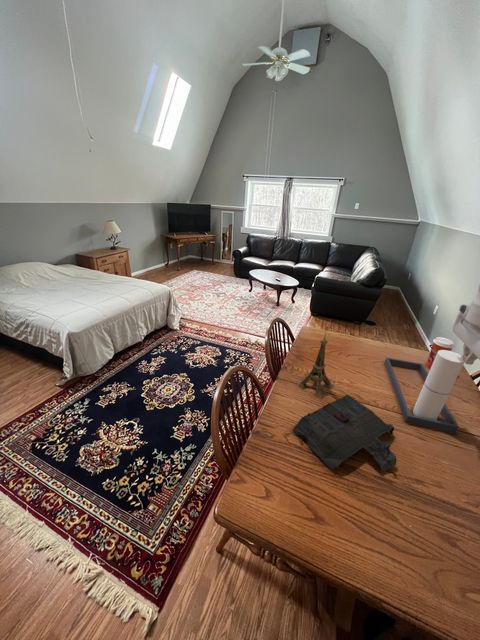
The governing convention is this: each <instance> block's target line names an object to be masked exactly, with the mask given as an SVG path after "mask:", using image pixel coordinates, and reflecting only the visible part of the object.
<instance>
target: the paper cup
mask: <svg viewBox="0 0 480 640" xmlns="http://www.w3.org/2000/svg"><path fill="white" fill-rule="evenodd" d="M454 348H455V343H454V341H452V340H451V339H449V338H446V337H441V336H438V337H437V336H436V337H435V338H434V339H433V340H432V346H431V349H430V352H429V354H428V358H427V361H426V368H428V369H429V370H430V369H431V366H432V364H433V362H434V359H435V357H436V355H437V352H438V351H439V350H448V351H452V350H453V349H454Z"/></svg>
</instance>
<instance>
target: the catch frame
mask: <svg viewBox="0 0 480 640" xmlns="http://www.w3.org/2000/svg"><path fill="white" fill-rule="evenodd" d="M384 366H385V368H386V372H387V374H388V377H389V379H390V383H391V385H392V388H393V389H392V390H393V391H394V395H395V398H396V400H397V404H398V406H399V409H400V411H401V414H402V417H403V419H404V423H406V424H410V425H414V426H418V427H423V428H427V429H432V430H437V431H441V432H445V433H450V434H454V435H456V434H457V432H458V430H459V428H460V426H459V425H458V423H457V421H456V419H455V418H454V416H453V414H452V413H451V410H450V409H449V407H448V405H447V404H446V403H445V404H444V406H443V408H442V410H441V412H440V414H441V415H442V417H443V419H444V420H445V421H441V420H438V419H437V420H432V419H428V418H423V417H418V416H415V415H414V414H411V413H410V410H409V408H408V404H407V402H406V399H405V397H404V395H403V392H402V389H401V386H400V384H399V382H398V379H397V376H396V373H395V371H394V369H393V366H394V367H400V368H405V369H410V370H416V371H418V372H419V373H420V375H421V377H422V379H423V382H425V381H426V378H427V376H428V374H429V372H428V371H427V369H426V367H425V366H424V364H423V363H419V362H415V361H409V360H403V359H398V358H391V357H385V359H384Z"/></svg>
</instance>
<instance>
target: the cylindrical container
mask: <svg viewBox="0 0 480 640" xmlns="http://www.w3.org/2000/svg"><path fill="white" fill-rule="evenodd" d="M461 357H462V355H461V354H459V353H457V352H455V351H452V350H451V351H448V350H439V351H438V352H437V355H436V357H435V359H434V362H433V364H432V366H431V369H430V368H429V371H428V376H427V378H426V381H424V383H423V386H422V388H421V390H420V392H419V395H418V397H417V399H416V402H415V405H414V407H413V409H412V415H414V416H418V417H423V418H428V419H432V420H437V421H438V418H439V417H440V414H441V410H442V408H443V406H444V404H446V402H447V399H448V397H449V395H450V394H451V391H452V389H453V387H454V385H455V383H456V381H457V379H458V376H459V375H460V373H461V371H462V368H463V366H464V364H465V362H464V361H463V359H462V358H461Z"/></svg>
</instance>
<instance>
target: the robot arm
mask: <svg viewBox="0 0 480 640" xmlns="http://www.w3.org/2000/svg"><path fill="white" fill-rule="evenodd" d="M452 333H454V335H455V336H456V337H457V338H458V339H459V340H460V341H461V342H462V343H463V345H462V355H461V356H462V357H461V358H462V359H463V361H464V364H466V365H470V366H472V365H474V363H475V361H476V360H479V361H480V284H479V285H478V291H477V294H476V296H475V298H473V299H472V301H471V303H470V304H467V303H461V304H460V305H459V307H458V313H457V315H456V318H455V320H454V323H453V324H452Z"/></svg>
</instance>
